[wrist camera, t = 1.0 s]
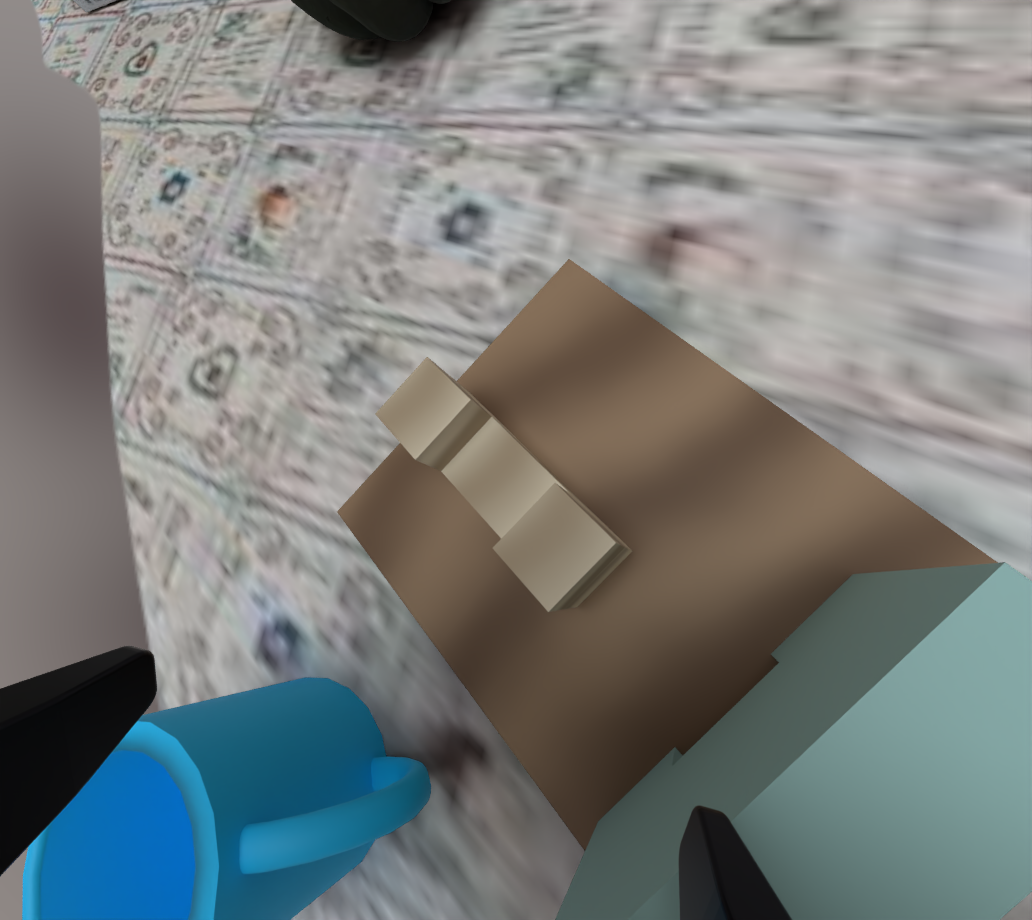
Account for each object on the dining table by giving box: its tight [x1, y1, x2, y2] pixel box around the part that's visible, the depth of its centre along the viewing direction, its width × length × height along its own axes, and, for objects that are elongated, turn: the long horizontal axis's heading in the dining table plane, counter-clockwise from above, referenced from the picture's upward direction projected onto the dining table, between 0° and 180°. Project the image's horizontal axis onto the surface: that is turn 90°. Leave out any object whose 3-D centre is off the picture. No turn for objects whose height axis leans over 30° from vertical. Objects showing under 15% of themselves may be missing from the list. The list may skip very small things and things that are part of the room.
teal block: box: [555, 562, 1032, 920], centre depth 12 cm, size 3×12×9 cm, turn 134°
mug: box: [22, 678, 431, 920], centre depth 18 cm, size 12×8×8 cm
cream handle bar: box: [376, 357, 632, 612], centre depth 19 cm, size 10×3×4 cm, turn 44°
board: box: [337, 259, 998, 850], centre depth 20 cm, size 20×16×1 cm
